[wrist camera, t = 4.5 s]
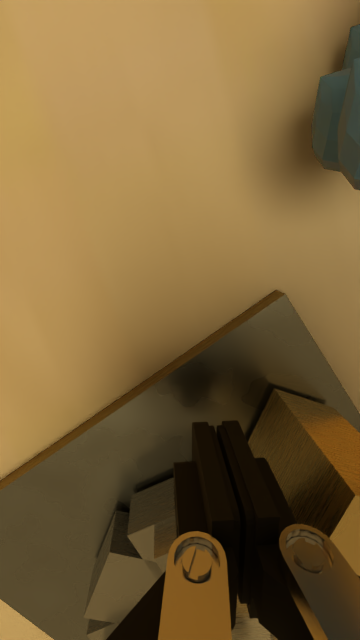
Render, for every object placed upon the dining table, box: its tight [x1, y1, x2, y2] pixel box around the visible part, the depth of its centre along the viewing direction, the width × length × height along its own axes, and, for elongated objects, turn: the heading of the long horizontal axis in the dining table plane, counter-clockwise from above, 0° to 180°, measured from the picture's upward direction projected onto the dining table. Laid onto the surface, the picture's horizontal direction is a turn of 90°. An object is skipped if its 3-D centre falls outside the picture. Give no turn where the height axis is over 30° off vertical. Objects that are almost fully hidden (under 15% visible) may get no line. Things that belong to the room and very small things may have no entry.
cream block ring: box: [83, 388, 360, 640], centre depth 13 cm, size 16×12×6 cm
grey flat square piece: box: [0, 290, 360, 640], centre depth 14 cm, size 20×20×6 cm
